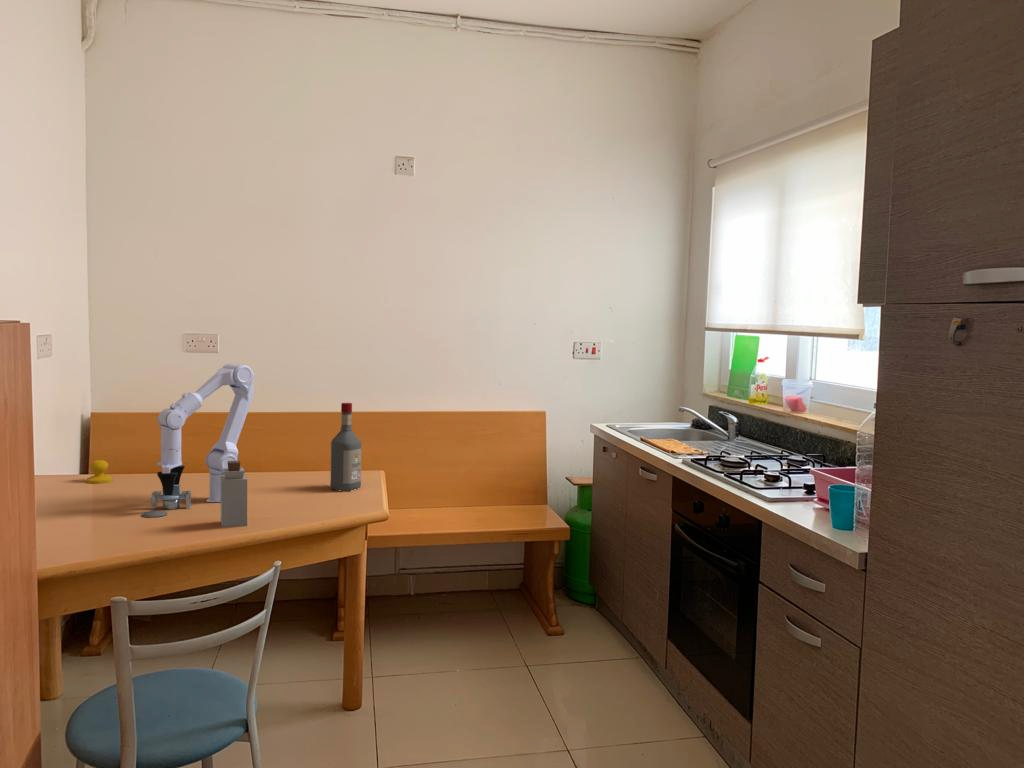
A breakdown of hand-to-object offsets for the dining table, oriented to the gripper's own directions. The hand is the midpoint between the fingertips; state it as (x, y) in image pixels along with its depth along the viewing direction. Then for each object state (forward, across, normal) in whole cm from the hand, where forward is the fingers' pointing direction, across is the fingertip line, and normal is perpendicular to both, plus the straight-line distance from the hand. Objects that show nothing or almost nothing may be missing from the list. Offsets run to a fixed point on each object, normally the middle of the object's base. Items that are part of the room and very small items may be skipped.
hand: (171, 492), depth 241 cm
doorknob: (+5, -41, -32) cm, 52 cm away
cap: (+2, 0, 0) cm, 2 cm away
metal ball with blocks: (+5, 0, 0) cm, 5 cm away
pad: (+5, +8, -3) cm, 10 cm away
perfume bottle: (+5, +20, +21) cm, 29 cm away
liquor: (+5, -24, +52) cm, 58 cm away
